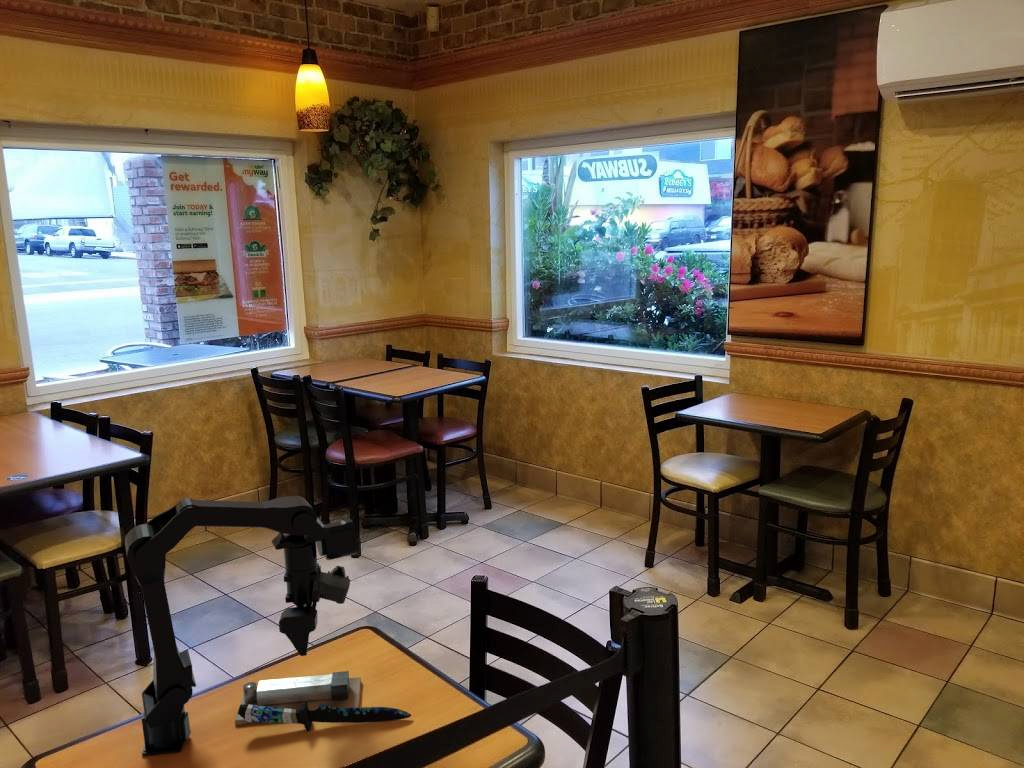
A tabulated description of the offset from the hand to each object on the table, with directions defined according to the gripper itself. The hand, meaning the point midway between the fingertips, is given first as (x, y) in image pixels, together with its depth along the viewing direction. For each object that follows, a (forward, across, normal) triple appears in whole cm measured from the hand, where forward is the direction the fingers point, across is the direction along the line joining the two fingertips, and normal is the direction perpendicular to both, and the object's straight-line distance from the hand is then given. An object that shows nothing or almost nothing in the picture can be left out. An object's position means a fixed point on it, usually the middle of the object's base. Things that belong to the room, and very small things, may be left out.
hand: (306, 641), depth 145 cm
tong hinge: (+11, -1, +11) cm, 15 cm away
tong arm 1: (+11, -2, +1) cm, 11 cm away
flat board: (+12, -1, +2) cm, 12 cm away
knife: (+12, -9, -4) cm, 16 cm away
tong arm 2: (+11, 0, +1) cm, 11 cm away
